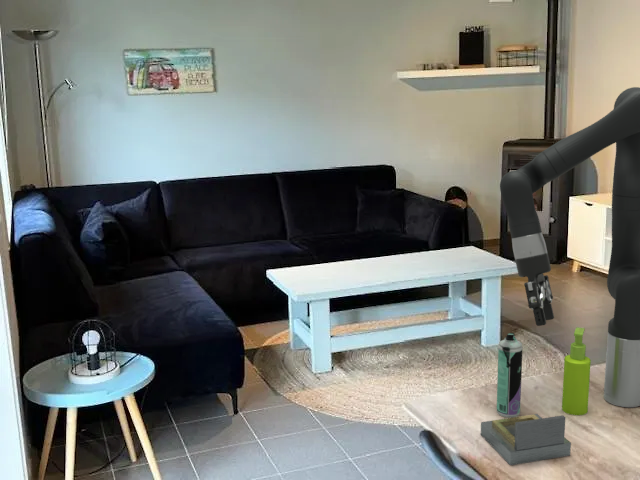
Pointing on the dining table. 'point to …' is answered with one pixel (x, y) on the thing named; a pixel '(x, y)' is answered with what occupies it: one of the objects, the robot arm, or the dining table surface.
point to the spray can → (509, 377)
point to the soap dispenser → (576, 377)
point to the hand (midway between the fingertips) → (545, 322)
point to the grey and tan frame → (527, 438)
